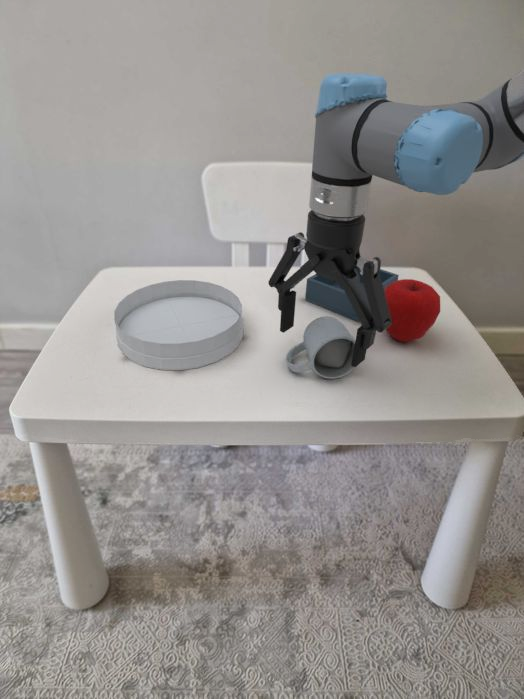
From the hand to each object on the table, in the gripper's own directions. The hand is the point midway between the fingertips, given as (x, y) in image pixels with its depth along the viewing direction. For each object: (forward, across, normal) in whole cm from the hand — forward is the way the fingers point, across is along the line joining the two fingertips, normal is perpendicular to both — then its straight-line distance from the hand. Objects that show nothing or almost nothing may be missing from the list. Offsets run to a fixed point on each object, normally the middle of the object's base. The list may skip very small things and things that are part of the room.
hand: (320, 344), depth 72 cm
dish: (+4, -24, -9) cm, 26 cm away
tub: (+4, -8, +23) cm, 25 cm away
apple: (+4, +6, +17) cm, 19 cm away
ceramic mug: (+4, 0, 0) cm, 4 cm away
